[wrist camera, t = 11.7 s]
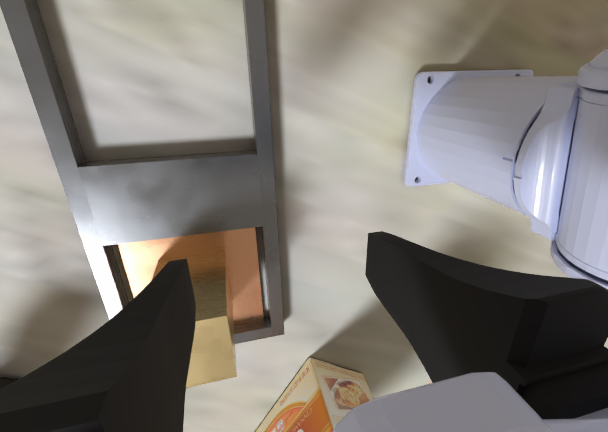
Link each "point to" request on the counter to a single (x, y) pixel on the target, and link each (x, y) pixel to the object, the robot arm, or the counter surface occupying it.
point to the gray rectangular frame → (166, 188)
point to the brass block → (210, 318)
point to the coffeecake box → (317, 399)
